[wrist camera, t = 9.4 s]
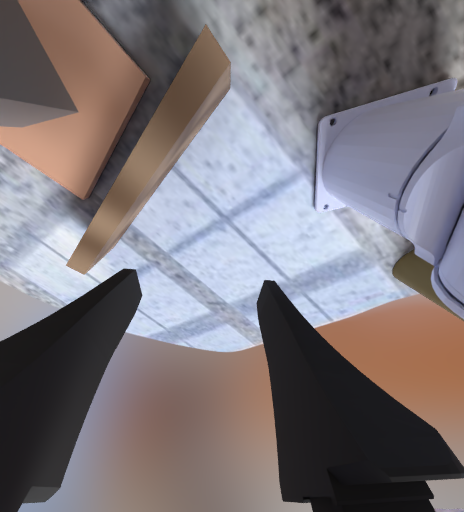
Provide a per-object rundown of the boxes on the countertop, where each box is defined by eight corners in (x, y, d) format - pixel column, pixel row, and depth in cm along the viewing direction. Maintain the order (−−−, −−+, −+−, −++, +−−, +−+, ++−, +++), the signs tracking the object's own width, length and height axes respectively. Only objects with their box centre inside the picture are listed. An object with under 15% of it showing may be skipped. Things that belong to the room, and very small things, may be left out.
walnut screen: (214, 65, 12) (205, 24, 7) (230, 88, 12) (230, 62, 8) (100, 239, 19) (65, 265, 15) (113, 247, 20) (84, 274, 16)
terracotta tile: (-109, -217, 7) (-144, -255, 6) (150, 79, 12) (145, 76, 11) (-92, 73, 12) (-111, 69, 11) (88, 197, 17) (83, 199, 16)
